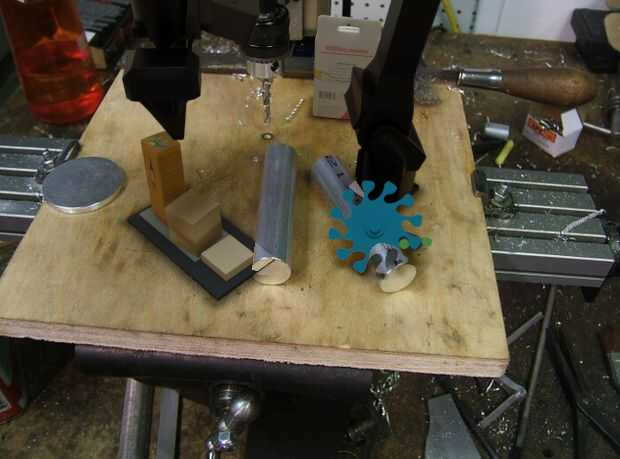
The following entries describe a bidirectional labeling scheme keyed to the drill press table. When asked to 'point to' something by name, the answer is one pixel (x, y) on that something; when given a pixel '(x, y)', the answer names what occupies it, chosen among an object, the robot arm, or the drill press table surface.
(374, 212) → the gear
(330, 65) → the ink cartridge box
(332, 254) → the drill press table surface
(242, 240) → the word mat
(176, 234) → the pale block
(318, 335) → the drill press table surface
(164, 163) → the supplement box
